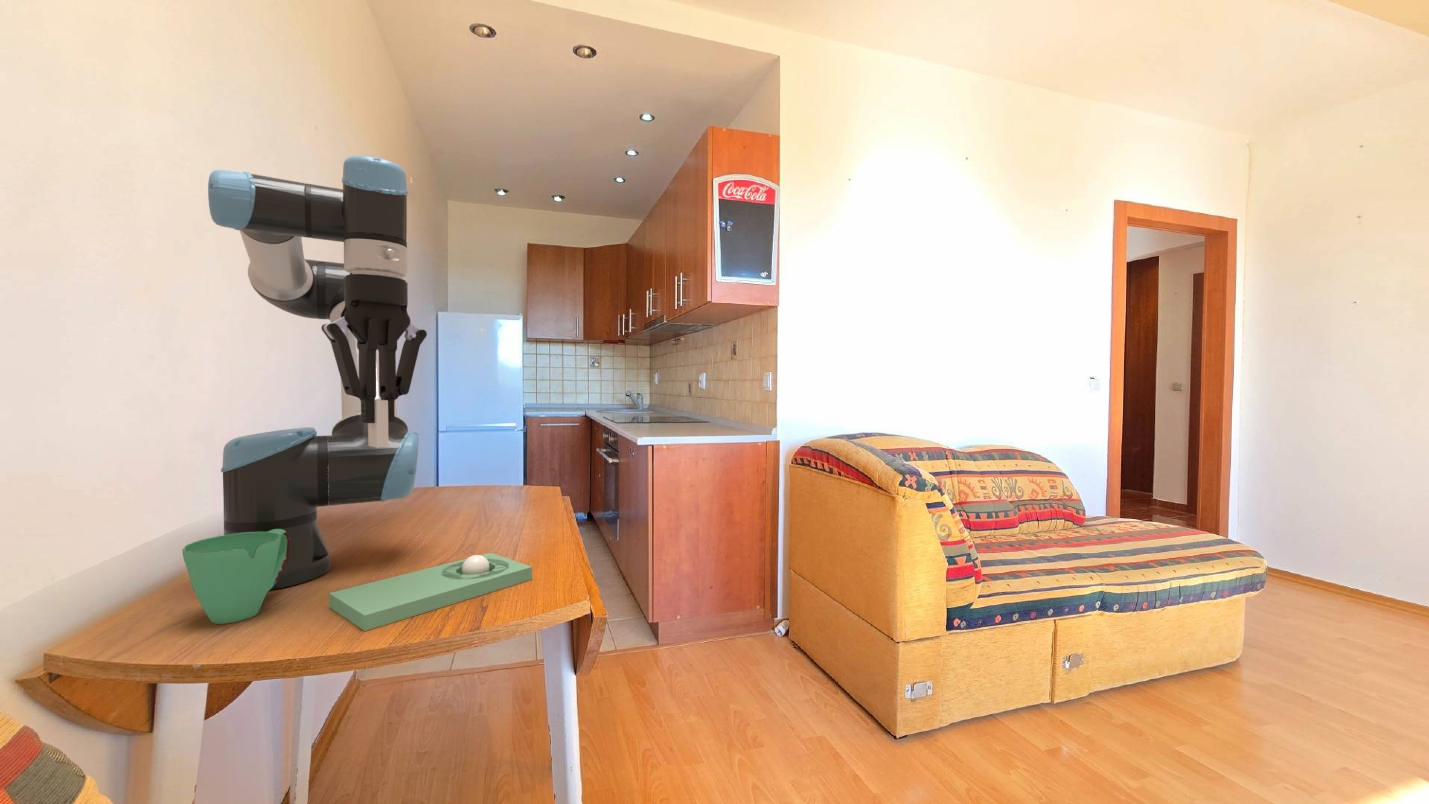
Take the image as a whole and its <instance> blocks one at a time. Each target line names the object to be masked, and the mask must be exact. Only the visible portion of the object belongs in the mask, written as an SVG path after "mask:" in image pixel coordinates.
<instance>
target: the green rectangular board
mask: <svg viewBox="0 0 1429 804" xmlns="http://www.w3.org/2000/svg"><path fill="white" fill-rule="evenodd" d="M480 555H481V556H483V557H485V558H486V559H487V560H488V562H489V572H486V573H482V574H475V575H463V574H462V566H463V563H464V562H465V560H466V559H468V558H469V557H468V558H464V559H460V560H456V561H452V562H449V563H443V564H441V565H436V566H432V567H428V568H423V569H420V570H416V571H412V572H408V573H404V574H400V575H396V576H393V577H388V578H384V579H380V580H377V581H371V582H368V583H364V584H359V585H357V586H352V587H349V588H348V587H347V588H344V589H340V590H335V591H332V592H329V593H328V607H329V609H331V610H333V611H334V612H336V613H337V614H338V615H340V616H341V617H343V618H344V619H346V620H347V621H349V622H350V623H352V624H353V625H354V626H356V627H358V628H359V629H360V630H362V631H363V632H366V631H367V632H368V631H370V630H373V629H377V628H380V627H383V626H386V625H390V624H393V623H395V622H399V621H403V620H405V619H409V618H412V617H414V616H415V617H416V616H418V615H421V614H425V613H427V612H431V611H434V610H439V609H441V608H445V607H447V606H451V605H454V604H457V603H460V602H464V601H467V600H469V599H474V598H476V597H480V596H482V595H486V594H489V593H493V592H496V591H499V590H503V589H506V588H509V587H512V586H514V585H515V586H516V585H518V584H522V583H525V582H529V581H531V580H533V566H530V565H527V564H524V563H521V562H519V561H516V560H513V559H510V558H508V557H505V556H502V555H499V554H495V553H492V552H488V553H485V554H480Z"/></svg>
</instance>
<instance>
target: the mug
mask: <svg viewBox="0 0 1429 804" xmlns="http://www.w3.org/2000/svg"><path fill="white" fill-rule="evenodd" d="M289 548H290V537H289V535H288V534H287V533H286V531H285V530H283V529H273V530H270V531H268V532H246V533H236V534H229V535H224V534H223V535H216V536H212V537H207V538H203V539H200V540H197V541H194V542H191V543H189V544H186V545H184V547H183V548H182V557H183V561H184V564H185V568H186V570H187V573H188V577H189V580H190V583H191V585H192V588H193V591H194V593H195V595H196V598H197V599H198V602H199V603H200V606H201V608H202V609H203V611H204V612H205V614H206V616H207V617H208V619H209V621H210V622H211V623H212V624H217V625H225V624H231V623H233V624H234V623H236V622H241V621H244V620H248V619H250V618H253V617H254V616H256V615H257V614H258V613H259V611H260V609H261V607H262V604H263V602H264V600H265V598H266V597H267V596H266V595H267V594H268V592H269V591H270V589H271V588H272V587H273V586H274V585H275V583H276V582H277V581H278V579H279V576H280V574H281V572H282V570H283V568H284V566H285V564H286V562H287V560H288V557H289Z"/></svg>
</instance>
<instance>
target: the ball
mask: <svg viewBox="0 0 1429 804" xmlns="http://www.w3.org/2000/svg"><path fill="white" fill-rule="evenodd" d="M481 555H482V554H474V555H470V556H469V557H468V559H467V558H465V559H466V560H465V562H464V563H463V566H462V574H463V575H475V574H482V573H486V572H489V562H488V560H487V559H486V558H485V557H483V556H481Z"/></svg>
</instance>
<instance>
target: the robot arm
mask: <svg viewBox="0 0 1429 804" xmlns="http://www.w3.org/2000/svg"><path fill="white" fill-rule="evenodd" d="M342 166H343V167H342V168H343V169H342V177H341V182H342V188H337V187H331V186H330V187H329V186H324V185H320V184H319V185H317V184H311V183H305V182H299V181H294V180H288V179H284V178H283V179H282V178H277V177H271V176H265V175H259V174H255V173H250V172H248V171H231V170H223V169H216V170H215V169H214V170H213V171H212V172H210V174H209V177H208V183H207V185H208V186H207V187H208V188H207V195H208V196H207V198H208V207H209V214H210V217H211V220H212V222H213V223H215V225H217V226H220V227H223V228H228V229H233V230H234V231H235V230H236V231H239V233H240V236H241V239H242V241H243V245H244V248H245V250H246V253H247V257H248V259H249V261H250V262H249V264H248V266H247V276H248V280H249V282H250V285H251V286H252V288H253V289H254V291H255V292H256V293H257V295H259V296H260V297H261V298H262V299H263V300H265V301H266V302H268V303H270V304H271V305H273V306H274V307H276V308H277V309H280V310H282V311H284V312H287V313H289V314H291V315H295V316H299V317H302V318H307V319H316V320H329V321H330V323H324V324H322V326H321V331H322V332H323V333H324V335H325V336H326V338H327V339H328V340H329V342H330V344H331V349H332V351H333V356H334V358H335V363H336V365H337V366H336V367H337V370H338V373H339V376H340V394H341V395H340V399H341V419H340V420H339V421H337V422H336V423H335V424H334V426H333V427H332V429H331V435H318V432H317V430H316V428H315V427H313V426H311V427H310V426H308V427H306V426H305V427H298V428H296V427H295V428H287V429H281V430H280V429H278V430H273V431H266V432H261V433H253V434H248V435H247V434H246V435H244V436H243V435H241V436H239V437H235V438H231V439H230V440H228V442H226V444H225V445H224V447H223V453H222V467H221V468H220V473H222V493H223V498H222V499H223V535H229V534H236V533H246V532H268V531H270V530H273V529H283V530H285V531H286V533H287V534H288V535H289V537H290V548H289V557H288V560H287V562H286V564H285V566H284V568H283V570H282V572H281V574H280V576H279V579H278V581H277V582H276V583H275V585H274V586H273V587H272V588H271V589H270V590H277V589H282V588H285V587H292V586H294V585H298V584H303V583H305V582H309V581H311V580H314V579H317V578H319V577H321V576H323V575H325V574H327V572H329V571H330V570H331V567H332V566H331V552H330V551H329V548H328V546H327V543H326V542H325V541H326V540H325V539H324V536H323V534H322V532H321V529H320V527H319V523H318V507H328V506H329V507H330V506H341V505H351V504H362V503H372V502H381V503H382V502H383V503H385V502H387V501H390V500H398V499H404V498H407V497H408V496H410V495H411V494H412V492H413V491H414V487H415V482H416V474H417V466H418V465H417V464H418V457H419V456H418V454H419V441H420V439H419V434H418V432H415V431H412V430H410V431H409V428H408V425H407V423H406V421H405V420H404V419H403V418H401V417H400V416H398V411H397V400H398V398H399V397H401V396H405V395H408V393H410V388H411V385H412V380H413V377H414V371H415V367H416V363H417V359H418V356H419V351H420V346H421V345H422V343H423V342H424V340H425V339H426V338H427V335H428V333H427V332H428V331H426V330H424V329H419V328H418V327H417V326H415V325H414V324H412V323H411V321H412V320H411V317H410V315H409V314H408V310H407V309H408V303H409V302H408V299H409V295H408V292H409V291H408V289H409V288H408V286H409V285H408V282H407V281H406V280H405V279H404V278H405V277H407V276H408V242H407V236H408V234H407V230H408V229H407V226H408V223H407V220H408V218H407V217H408V212H407V211H408V208H407V207H408V204H407V203H408V195H409V190H408V188H407V187H408V186H407V175H406V172H405V170H404V168H402V166H400V165H399V164H397V163H396V162H395V163H394V162H393V161H390V160H387V159H384V158H380V157H375V156H367V155H354V156H350V157H347V158H346V159H345V160H344V161H343V165H342ZM302 238H308V239H309V238H310V239H316V240H324V241H332V242H341V243H343V263H342V262H335V261H334V262H333V261H324V260H315V259H307V258H306V259H305V256H304V255H305V254H304V246H303V239H302ZM403 334H404V338H405V339H404V343H403V346H402V349H401V353H400V357H399V361H398V365H397V367H396V364H397V361H396V358H397V357H396V354H397V353H396V352H397V351H398V341H399V339H400V338H401V337H402V335H403ZM270 590H269V591H270Z"/></svg>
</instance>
